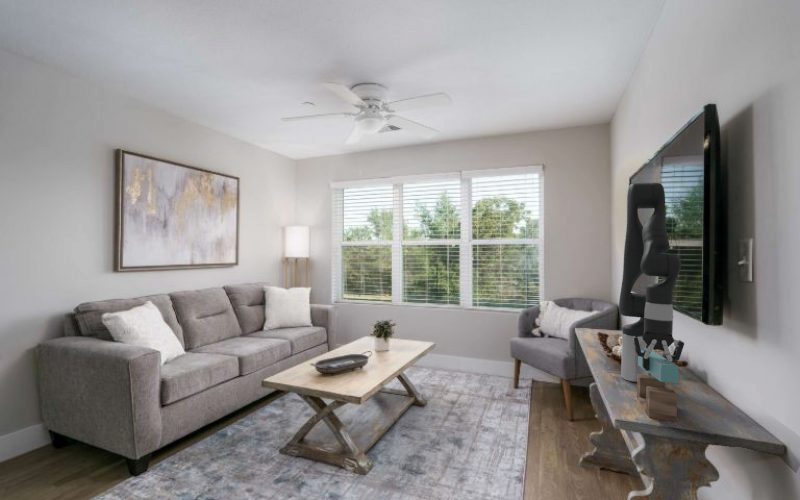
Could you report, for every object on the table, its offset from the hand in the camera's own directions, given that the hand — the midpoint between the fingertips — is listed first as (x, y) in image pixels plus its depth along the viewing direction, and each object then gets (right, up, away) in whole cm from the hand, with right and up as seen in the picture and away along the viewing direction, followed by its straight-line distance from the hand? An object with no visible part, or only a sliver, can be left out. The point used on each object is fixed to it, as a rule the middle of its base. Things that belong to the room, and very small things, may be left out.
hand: (656, 371), depth 124 cm
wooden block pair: (0, -12, 0) cm, 12 cm away
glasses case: (0, -1, 0) cm, 1 cm away
